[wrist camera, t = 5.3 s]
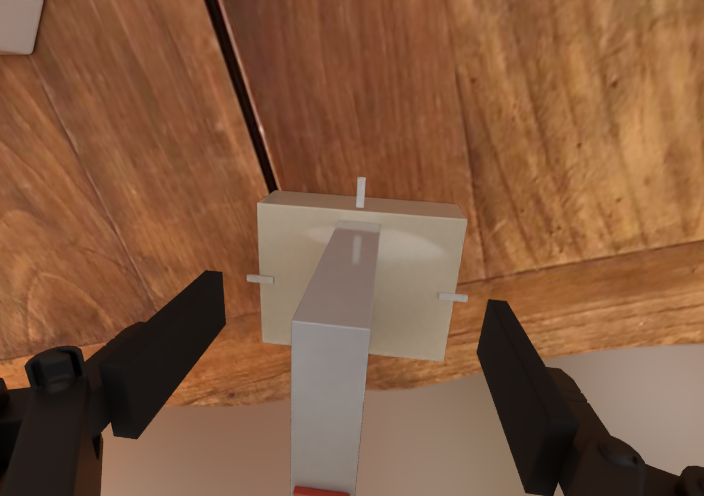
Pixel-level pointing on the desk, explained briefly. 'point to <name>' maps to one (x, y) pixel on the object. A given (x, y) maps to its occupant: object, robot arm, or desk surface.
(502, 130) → the desk surface
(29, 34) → the jar
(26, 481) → the robot arm
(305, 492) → the tap handle
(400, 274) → the panel
